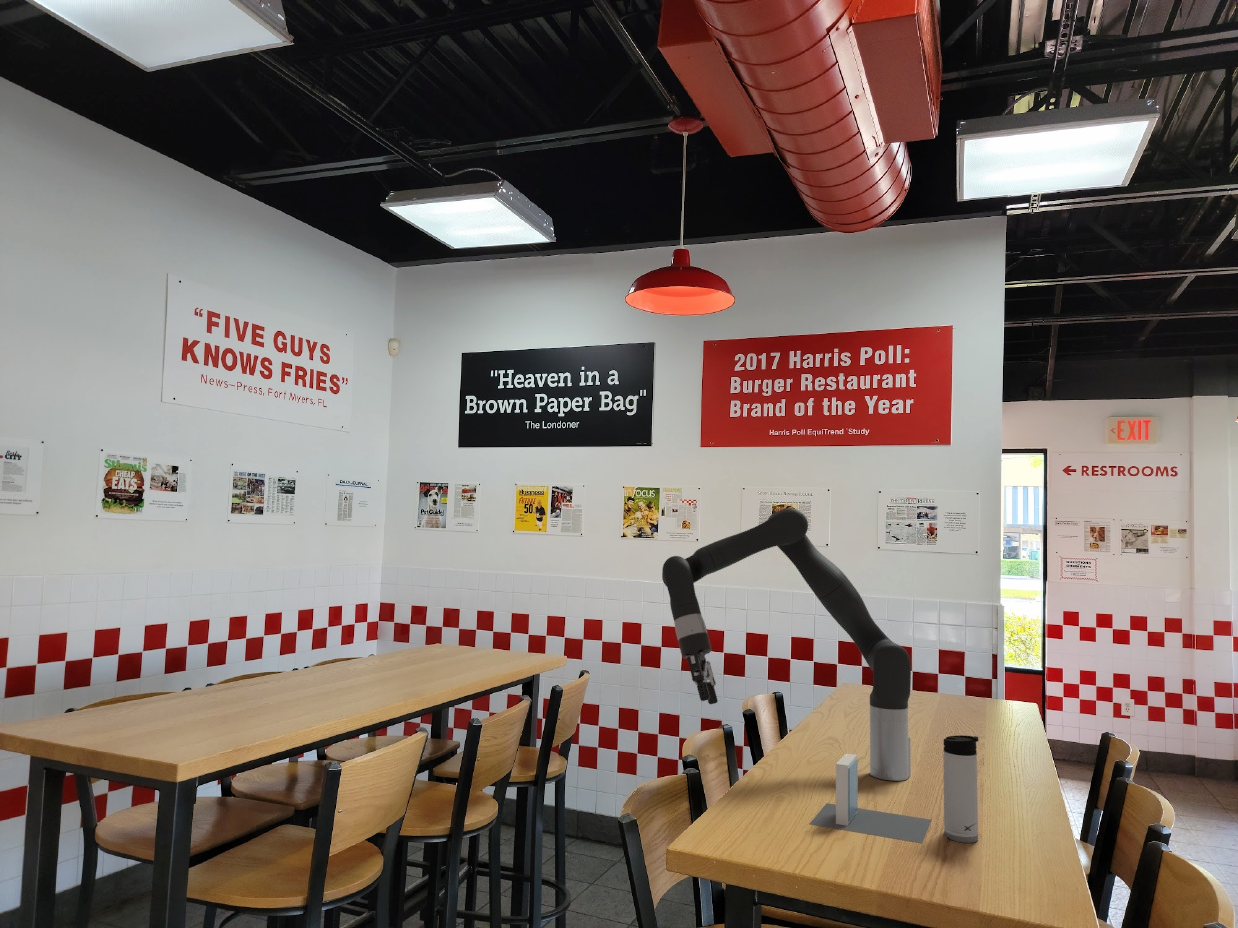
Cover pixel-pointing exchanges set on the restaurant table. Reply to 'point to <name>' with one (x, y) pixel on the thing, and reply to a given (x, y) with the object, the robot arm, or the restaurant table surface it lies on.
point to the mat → (876, 824)
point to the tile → (846, 789)
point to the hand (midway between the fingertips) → (709, 701)
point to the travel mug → (960, 788)
